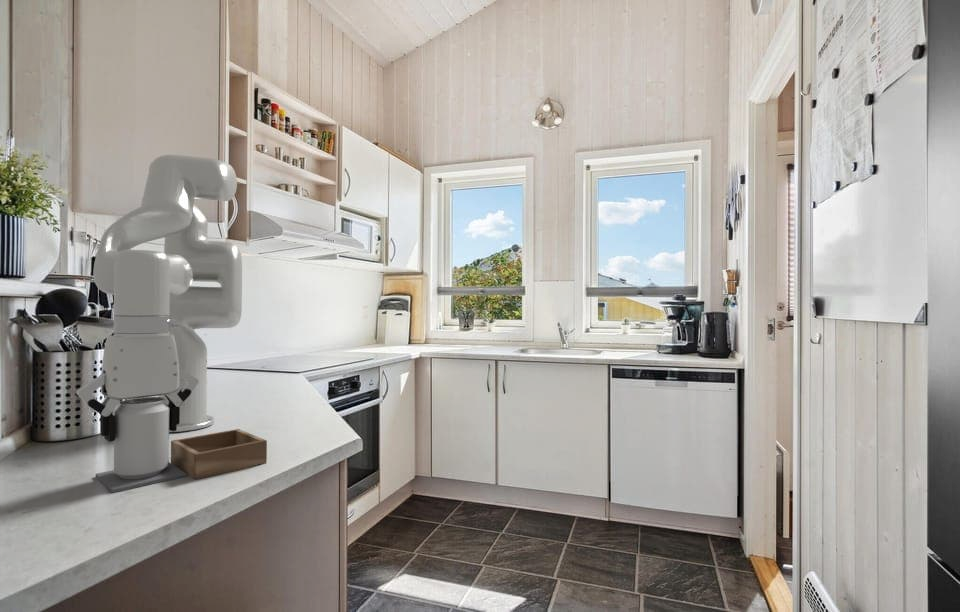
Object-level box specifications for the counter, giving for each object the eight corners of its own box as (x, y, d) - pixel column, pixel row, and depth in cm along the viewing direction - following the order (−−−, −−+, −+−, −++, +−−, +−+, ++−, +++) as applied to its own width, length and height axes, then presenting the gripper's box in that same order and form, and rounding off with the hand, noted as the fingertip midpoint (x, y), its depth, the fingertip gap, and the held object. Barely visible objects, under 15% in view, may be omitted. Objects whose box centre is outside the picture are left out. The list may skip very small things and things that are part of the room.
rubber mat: (95, 476, 82) (95, 473, 82) (165, 462, 89) (165, 459, 89) (112, 493, 75) (112, 489, 75) (186, 476, 83) (186, 473, 83)
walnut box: (170, 463, 89) (170, 440, 89) (238, 449, 98) (238, 428, 98) (195, 479, 81) (196, 454, 81) (266, 462, 90) (266, 440, 90)
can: (141, 482, 78) (142, 404, 78) (101, 478, 80) (102, 402, 80) (179, 467, 86) (180, 396, 85) (142, 464, 87) (143, 394, 87)
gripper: (192, 324, 91) (191, 421, 91) (69, 327, 78) (68, 440, 78) (208, 326, 86) (207, 429, 86) (80, 329, 73) (79, 450, 73)
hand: (141, 434), depth 82 cm, fingers open, 8 cm apart
